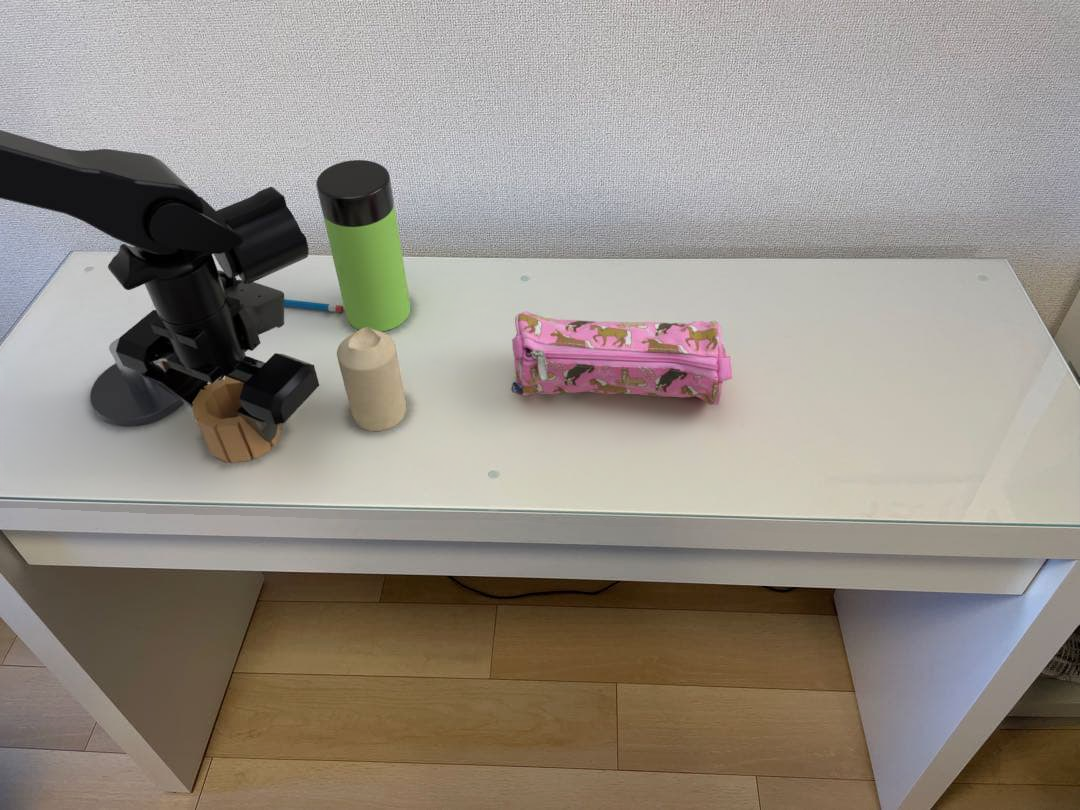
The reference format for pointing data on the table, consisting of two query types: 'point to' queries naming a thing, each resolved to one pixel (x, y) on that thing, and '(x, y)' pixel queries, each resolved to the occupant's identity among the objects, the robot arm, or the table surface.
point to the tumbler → (365, 243)
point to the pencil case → (619, 358)
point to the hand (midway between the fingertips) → (240, 426)
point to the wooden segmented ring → (227, 423)
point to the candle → (372, 379)
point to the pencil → (313, 305)
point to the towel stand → (129, 396)
